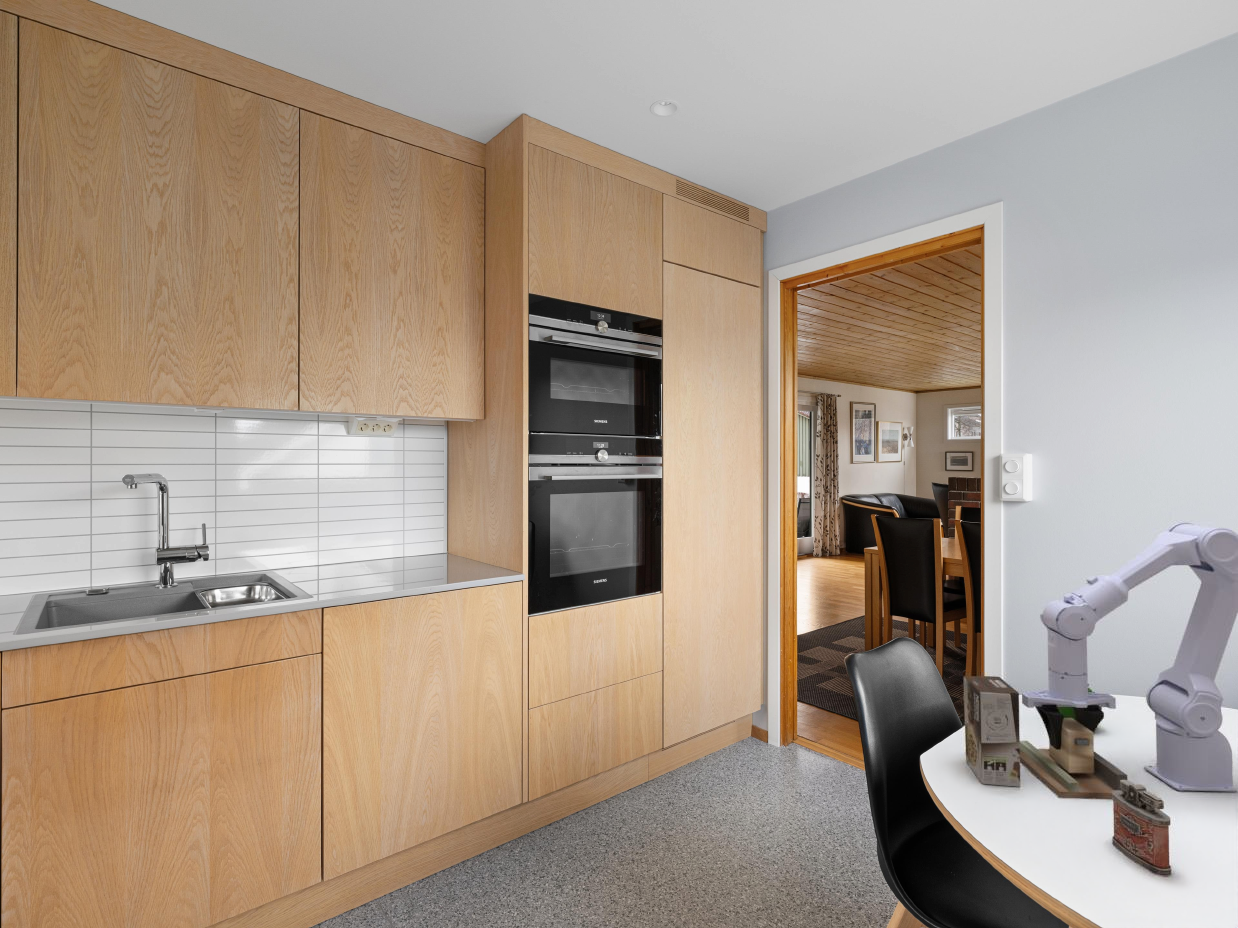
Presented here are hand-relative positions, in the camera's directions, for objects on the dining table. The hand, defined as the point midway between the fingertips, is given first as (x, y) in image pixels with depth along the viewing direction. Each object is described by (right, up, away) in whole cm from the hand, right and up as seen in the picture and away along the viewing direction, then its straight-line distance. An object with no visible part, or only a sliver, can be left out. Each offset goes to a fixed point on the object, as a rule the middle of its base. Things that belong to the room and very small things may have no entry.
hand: (1069, 747), depth 115 cm
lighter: (-6, -6, -23) cm, 25 cm away
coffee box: (-13, -5, +1) cm, 14 cm away
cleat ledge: (0, -5, 0) cm, 5 cm away
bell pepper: (+15, -5, +20) cm, 25 cm away
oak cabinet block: (0, -3, 0) cm, 3 cm away
